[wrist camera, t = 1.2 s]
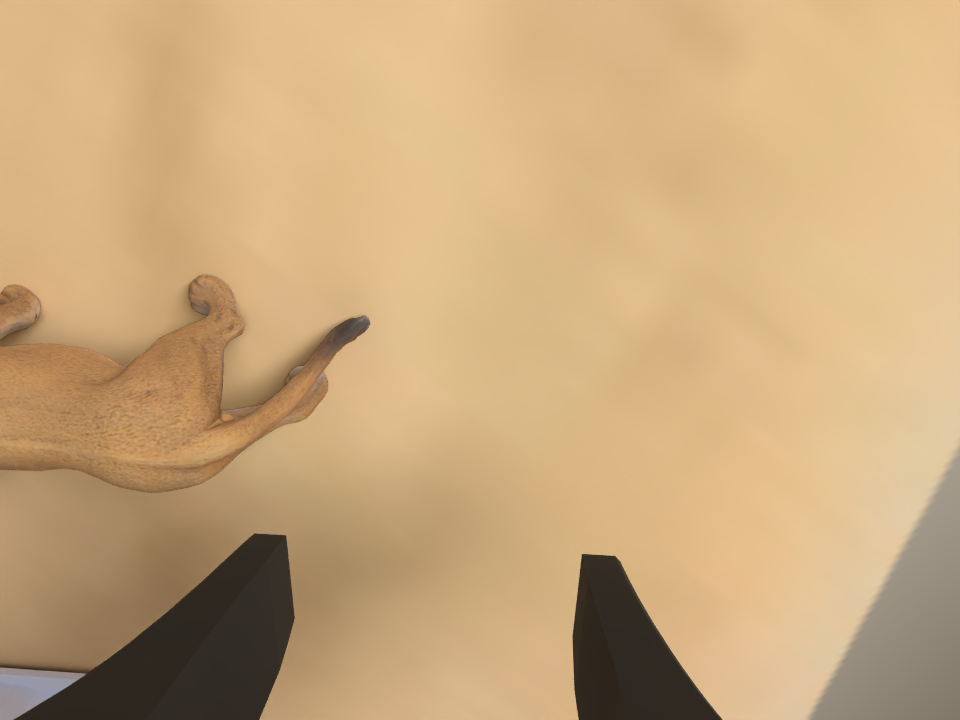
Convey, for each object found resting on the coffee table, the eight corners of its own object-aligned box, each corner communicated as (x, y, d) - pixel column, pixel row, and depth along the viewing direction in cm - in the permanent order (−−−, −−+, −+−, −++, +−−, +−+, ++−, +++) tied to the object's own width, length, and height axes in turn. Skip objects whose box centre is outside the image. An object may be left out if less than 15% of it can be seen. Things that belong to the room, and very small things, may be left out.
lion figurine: (-27, 443, 24) (-308, 651, 16) (-107, 296, 22) (-476, 451, 14) (391, 386, 22) (314, 589, 14) (349, 220, 20) (231, 347, 12)
